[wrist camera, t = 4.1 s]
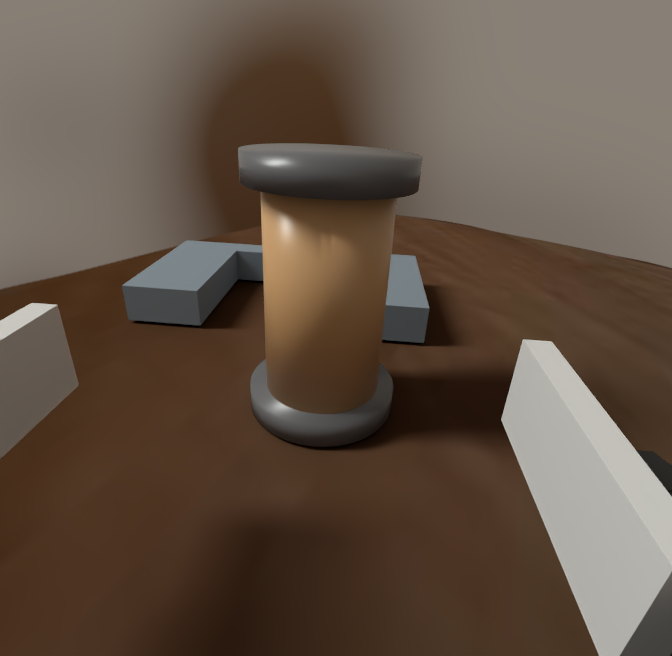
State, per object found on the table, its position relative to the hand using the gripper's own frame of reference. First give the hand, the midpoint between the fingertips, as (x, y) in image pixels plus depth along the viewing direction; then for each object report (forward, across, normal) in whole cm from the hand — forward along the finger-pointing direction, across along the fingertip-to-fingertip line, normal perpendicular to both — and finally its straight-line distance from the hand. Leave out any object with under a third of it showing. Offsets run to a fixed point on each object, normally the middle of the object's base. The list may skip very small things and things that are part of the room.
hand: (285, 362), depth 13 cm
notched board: (+20, -4, -7) cm, 22 cm away
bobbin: (+8, 0, -7) cm, 11 cm away
